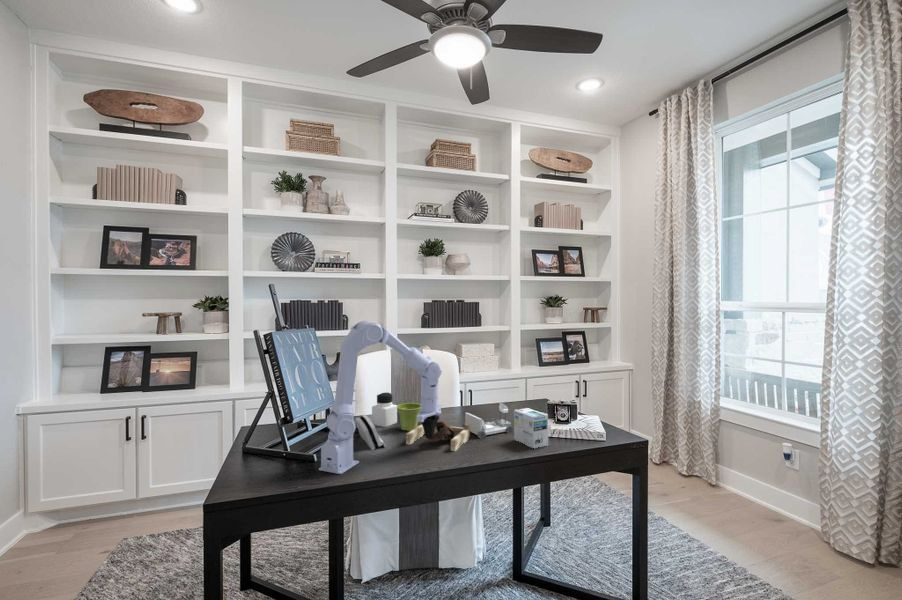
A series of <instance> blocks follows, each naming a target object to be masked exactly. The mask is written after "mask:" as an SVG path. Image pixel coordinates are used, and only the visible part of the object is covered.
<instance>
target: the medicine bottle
mask: <svg viewBox="0 0 902 600" xmlns="http://www.w3.org/2000/svg"><path fill="white" fill-rule="evenodd" d="M397 406H398V405H397V404H393V394H392V393H390V392H387V391H385V392H379V393H378V394H376V405H372V406H371V422H372V423H373V425H374V426H379V427H382V428H383V427H384V428H387V427H389V426H393V425H394V424H395V425H396V424H397V423H398V408H397Z"/></svg>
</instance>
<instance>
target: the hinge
mask: <svg viewBox="0 0 902 600" xmlns="http://www.w3.org/2000/svg"><path fill="white" fill-rule="evenodd" d="M354 422H355V425H356V427H357V430H358V433H359V435H360V437H361V438H362V439H363V441H365V444H366V445H367V446H368V447H369V448H370V449H371V450H376V447H381V446H383V447H384V448H386V449H387V445H386V443H385V442H384V440H382V438H381V437H380V436H379V434H378V432H377V429H376V425H373V423H372V419H371V418H370V417H369V416H368V415H366V414H363V415H360V417H356V418H355V419H354Z"/></svg>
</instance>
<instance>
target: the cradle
mask: <svg viewBox="0 0 902 600" xmlns="http://www.w3.org/2000/svg"><path fill="white" fill-rule="evenodd" d="M450 426H451V428H452V429H453V431H454V434H455V437H454V438H453V439H450V452H456V451H457V450H459V448H461V447H462V446H463V445H464V444H465V443H467V441H469V440H470V439H471V431H470V424H465V428H463V427H462V426H453V425H450ZM436 433H438V431H437V429H436V427H435V431H434V434H436ZM424 434H425V432H424V428H423V426H422V424H420V425H418V427H416V428H415V429H413V430H412V431H407V433H406V434H405V444H406V445H409V446H410V445H412V444H413V443H415V442H416V441H418V440H419V439H421V438H422V437H423V435H424ZM424 436H425V435H424ZM420 437H421V438H420ZM444 437H447V435H445V436H444ZM469 438H470V439H469ZM417 439H418V440H417ZM414 441H415V442H414ZM463 443H464V444H463ZM462 444H463V445H462ZM461 445H462V446H461ZM460 446H461V447H460Z"/></svg>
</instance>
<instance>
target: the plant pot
mask: <svg viewBox="0 0 902 600" xmlns="http://www.w3.org/2000/svg"><path fill="white" fill-rule="evenodd" d="M420 410H421V403H416V402H407V403H406V402H405V403H399V404H398V405H397V412H398V414H399V421H400V430H402V431H407V432H410V431H412V430H413V429H415V428H416V427H418V426H419V425H418V424H419V422H417V415H419V412H420Z"/></svg>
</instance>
